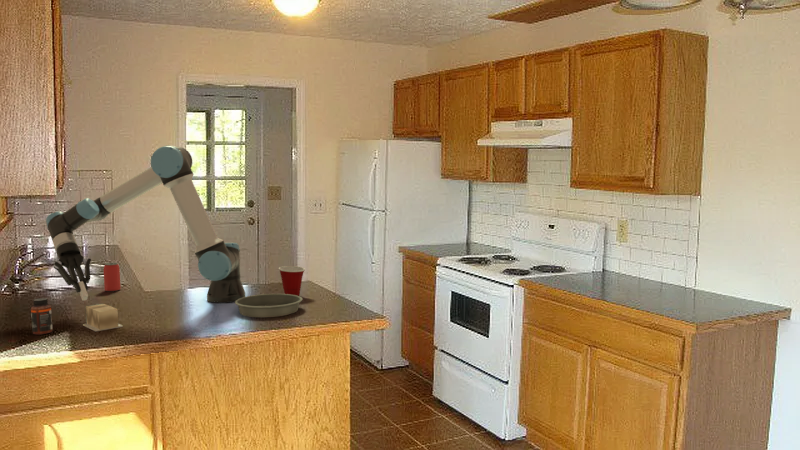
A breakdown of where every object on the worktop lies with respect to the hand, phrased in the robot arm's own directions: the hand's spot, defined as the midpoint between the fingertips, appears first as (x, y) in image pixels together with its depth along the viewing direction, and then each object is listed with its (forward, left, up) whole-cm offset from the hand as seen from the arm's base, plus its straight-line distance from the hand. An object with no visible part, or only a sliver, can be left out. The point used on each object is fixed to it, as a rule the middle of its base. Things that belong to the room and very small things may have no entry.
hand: (85, 298), depth 240 cm
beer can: (+26, -52, -8) cm, 59 cm away
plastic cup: (-59, -49, -8) cm, 78 cm away
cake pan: (-60, -22, -8) cm, 65 cm away
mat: (-12, +8, -8) cm, 17 cm away
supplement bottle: (+2, +20, -8) cm, 21 cm away
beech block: (-7, +5, -4) cm, 9 cm away
